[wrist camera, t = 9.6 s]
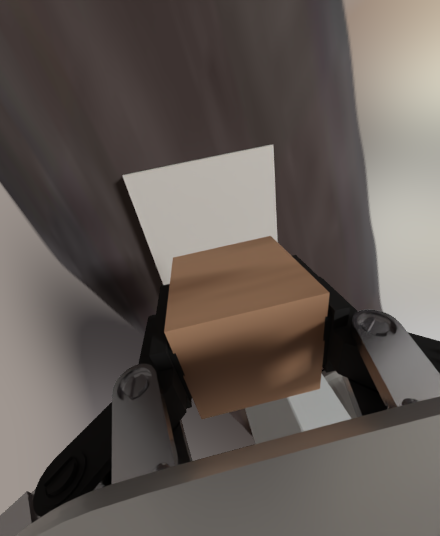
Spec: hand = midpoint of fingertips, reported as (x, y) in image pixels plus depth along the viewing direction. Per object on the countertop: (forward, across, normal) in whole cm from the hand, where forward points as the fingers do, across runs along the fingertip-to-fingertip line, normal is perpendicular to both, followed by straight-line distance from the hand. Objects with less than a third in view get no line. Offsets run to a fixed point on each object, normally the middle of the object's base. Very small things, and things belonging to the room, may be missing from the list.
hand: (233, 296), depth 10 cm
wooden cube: (+1, 0, 0) cm, 1 cm away
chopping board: (+11, 0, 0) cm, 11 cm away
